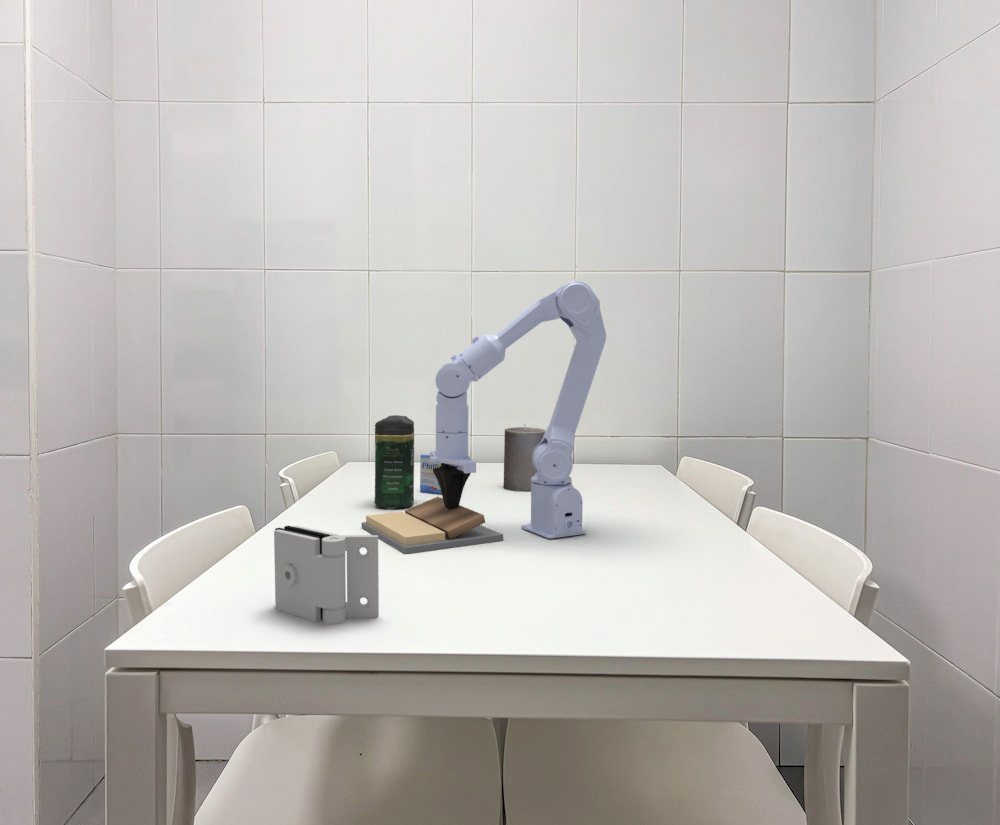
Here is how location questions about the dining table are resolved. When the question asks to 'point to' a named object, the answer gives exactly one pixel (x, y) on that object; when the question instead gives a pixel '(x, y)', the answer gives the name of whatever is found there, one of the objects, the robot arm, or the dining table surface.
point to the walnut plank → (446, 517)
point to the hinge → (325, 574)
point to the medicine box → (428, 475)
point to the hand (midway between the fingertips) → (451, 507)
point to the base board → (422, 533)
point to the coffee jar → (394, 462)
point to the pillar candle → (520, 457)
